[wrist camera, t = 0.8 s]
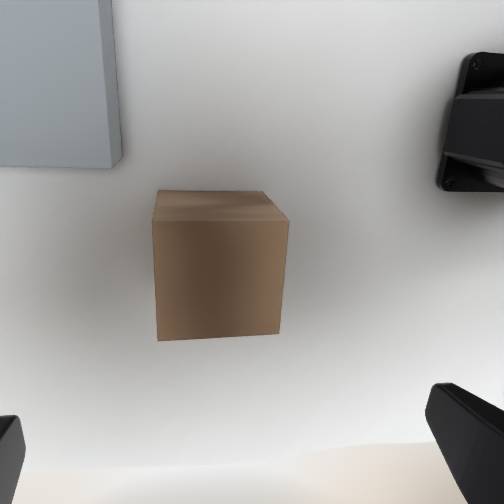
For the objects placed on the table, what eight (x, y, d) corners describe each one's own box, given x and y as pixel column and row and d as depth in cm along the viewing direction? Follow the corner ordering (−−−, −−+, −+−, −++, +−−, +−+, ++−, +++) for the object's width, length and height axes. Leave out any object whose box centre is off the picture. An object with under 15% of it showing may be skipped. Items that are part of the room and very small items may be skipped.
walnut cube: (262, 191, 19) (289, 220, 14) (256, 282, 21) (279, 333, 16) (158, 190, 18) (152, 221, 13) (162, 285, 20) (157, 341, 15)
